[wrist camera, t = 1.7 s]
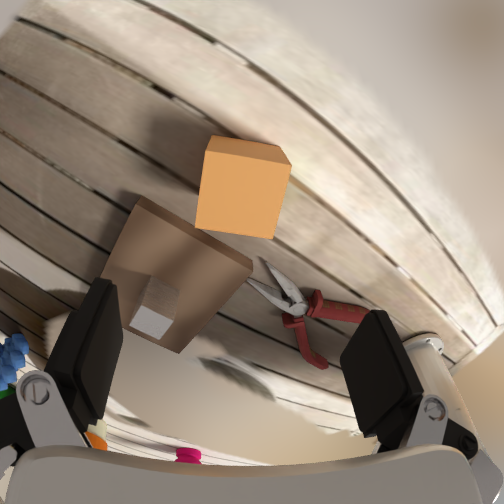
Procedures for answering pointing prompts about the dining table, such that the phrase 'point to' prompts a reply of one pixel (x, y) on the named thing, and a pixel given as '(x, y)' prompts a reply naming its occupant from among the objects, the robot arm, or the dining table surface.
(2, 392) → the clamp
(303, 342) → the pliers
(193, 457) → the pepper mill
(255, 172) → the matte orange cube
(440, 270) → the dining table surface
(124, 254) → the board
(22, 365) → the blue knobbed flower
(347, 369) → the robot arm
